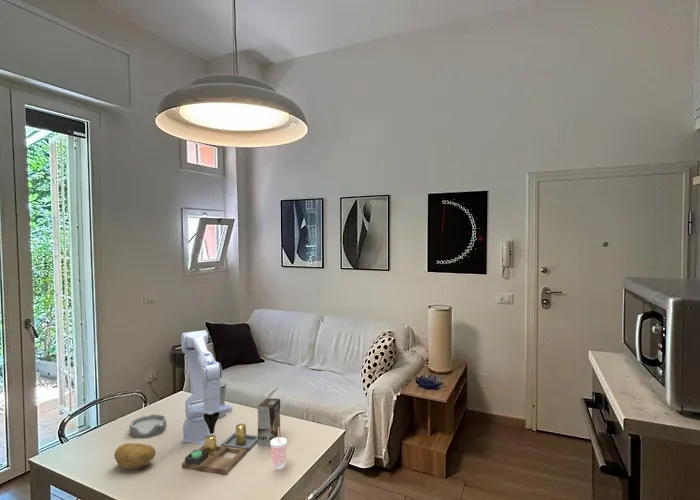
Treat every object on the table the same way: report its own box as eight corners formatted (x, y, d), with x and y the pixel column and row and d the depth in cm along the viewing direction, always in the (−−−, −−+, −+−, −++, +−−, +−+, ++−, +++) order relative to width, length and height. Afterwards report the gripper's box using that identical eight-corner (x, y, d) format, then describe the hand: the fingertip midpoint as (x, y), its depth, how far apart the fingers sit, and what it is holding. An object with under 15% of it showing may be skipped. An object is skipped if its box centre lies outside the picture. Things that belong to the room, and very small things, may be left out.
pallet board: (181, 468, 140) (181, 457, 140) (205, 448, 153) (205, 438, 153) (226, 475, 135) (226, 464, 135) (246, 454, 149) (246, 444, 149)
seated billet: (202, 457, 147) (202, 439, 147) (209, 452, 150) (209, 434, 150) (212, 459, 146) (212, 440, 146) (218, 453, 150) (218, 435, 149)
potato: (146, 475, 136) (146, 452, 135) (108, 473, 137) (107, 451, 136) (162, 460, 145) (161, 438, 145) (125, 458, 146) (125, 437, 146)
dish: (168, 433, 166) (168, 421, 166) (131, 442, 158) (131, 430, 158) (163, 420, 178) (162, 410, 178) (128, 429, 170) (128, 417, 170)
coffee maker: (233, 414, 184) (233, 376, 183) (218, 422, 176) (218, 382, 176) (212, 407, 191) (212, 371, 191) (197, 414, 184) (196, 376, 184)
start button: (189, 461, 140) (189, 454, 140) (195, 456, 144) (195, 449, 144) (198, 462, 139) (198, 456, 139) (204, 457, 143) (204, 451, 143)
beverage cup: (279, 459, 145) (279, 421, 145) (290, 465, 142) (290, 426, 141) (266, 466, 141) (266, 428, 141) (277, 472, 137) (277, 433, 137)
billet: (233, 445, 155) (233, 427, 154) (239, 440, 158) (238, 423, 158) (242, 446, 154) (242, 428, 153) (247, 441, 157) (247, 424, 157)
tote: (220, 449, 153) (220, 444, 153) (234, 436, 162) (234, 432, 162) (248, 453, 150) (248, 448, 150) (260, 440, 159) (260, 436, 159)
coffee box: (272, 448, 153) (272, 407, 153) (257, 446, 155) (256, 406, 154) (281, 437, 162) (280, 398, 162) (266, 435, 164) (266, 397, 163)
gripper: (189, 402, 140) (189, 439, 141) (231, 398, 144) (231, 435, 144) (192, 395, 147) (192, 430, 148) (232, 391, 151) (232, 426, 151)
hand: (212, 432), depth 146 cm, fingers closed
